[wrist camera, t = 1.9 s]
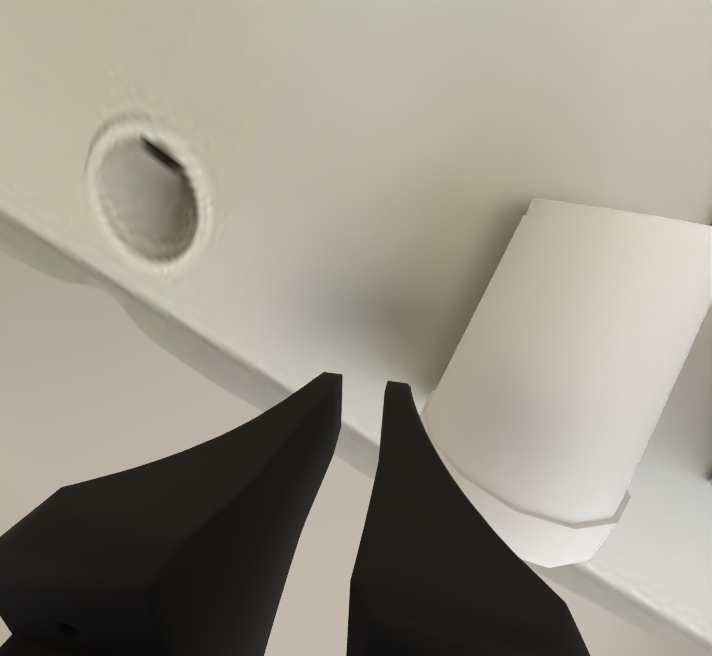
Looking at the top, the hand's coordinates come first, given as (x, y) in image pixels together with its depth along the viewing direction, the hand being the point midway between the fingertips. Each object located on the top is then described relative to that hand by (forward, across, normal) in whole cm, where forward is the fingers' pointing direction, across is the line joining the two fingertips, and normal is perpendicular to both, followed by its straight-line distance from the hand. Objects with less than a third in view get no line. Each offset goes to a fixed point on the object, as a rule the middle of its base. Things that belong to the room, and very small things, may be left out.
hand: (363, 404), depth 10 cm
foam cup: (+6, -8, -6) cm, 12 cm away
